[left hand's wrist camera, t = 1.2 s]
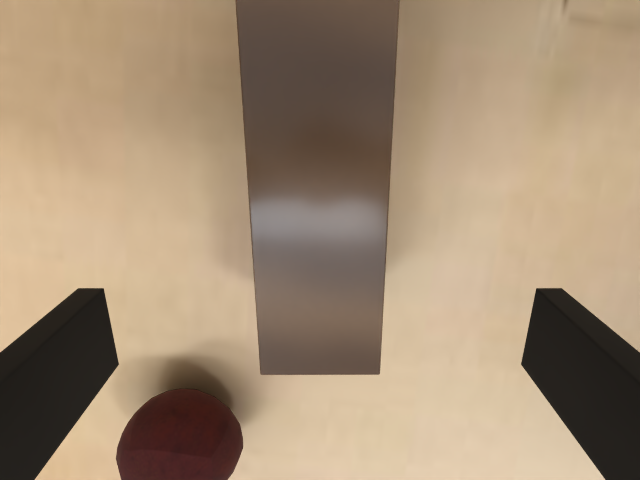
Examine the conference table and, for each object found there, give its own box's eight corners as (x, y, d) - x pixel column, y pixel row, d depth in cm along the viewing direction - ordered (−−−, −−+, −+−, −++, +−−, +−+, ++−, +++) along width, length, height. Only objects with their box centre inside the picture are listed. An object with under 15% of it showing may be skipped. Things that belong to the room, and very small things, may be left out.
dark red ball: (144, 360, 29) (91, 441, 22) (254, 373, 29) (234, 456, 23) (145, 441, 31) (97, 534, 25) (246, 452, 32) (226, 547, 25)
